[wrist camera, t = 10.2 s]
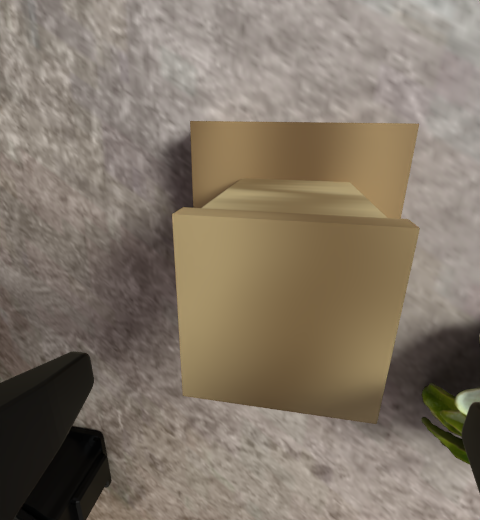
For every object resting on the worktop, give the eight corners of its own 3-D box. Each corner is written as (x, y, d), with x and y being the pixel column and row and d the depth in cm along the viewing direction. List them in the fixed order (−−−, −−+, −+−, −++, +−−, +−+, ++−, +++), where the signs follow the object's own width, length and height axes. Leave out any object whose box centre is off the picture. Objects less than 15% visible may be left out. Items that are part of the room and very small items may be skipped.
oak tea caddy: (236, 276, 18) (182, 396, 10) (238, 173, 16) (171, 214, 8) (339, 285, 17) (376, 424, 9) (354, 178, 15) (419, 228, 7)
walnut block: (210, 287, 22) (196, 309, 19) (207, 123, 18) (190, 121, 15) (368, 301, 20) (378, 328, 17) (399, 125, 16) (419, 123, 14)
